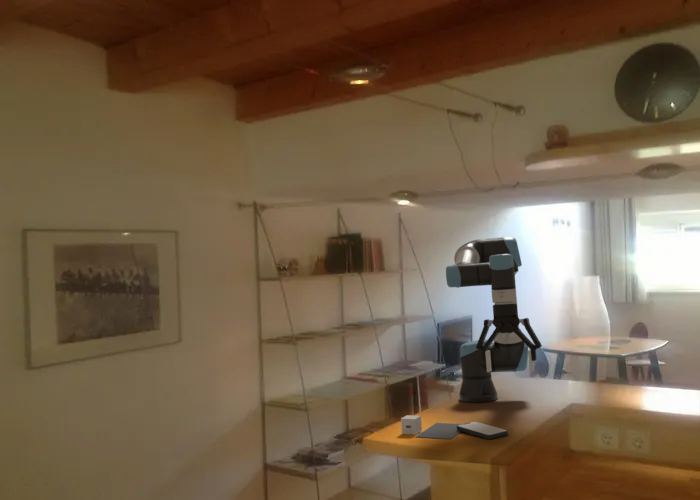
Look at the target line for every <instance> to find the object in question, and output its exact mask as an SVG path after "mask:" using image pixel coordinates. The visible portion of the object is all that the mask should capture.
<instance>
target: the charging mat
mask: <svg viewBox="0 0 700 500" xmlns="http://www.w3.org/2000/svg"><path fill="white" fill-rule="evenodd" d="M461 424H462V423H449V422H447V423H446V422H443V423H442V422H435V423H434V424H432V425H431V426H429V427H428V428H427V429H425V430H422V431H421V432H420V433H418V434H417V435H415V438H419V439H420V438H422V439H423V438H424V439H425V438H426V439H439V440H452V439H454V438H455V437H456V436H458V435H459V434H461V432H462V431H459V430H457V425H461Z"/></svg>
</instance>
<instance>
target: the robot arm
mask: <svg viewBox="0 0 700 500" xmlns="http://www.w3.org/2000/svg"><path fill="white" fill-rule="evenodd" d="M453 259H454V264H451V265H447V266H446V267H445V278H446V285H447V286H448V288H457V289H458V288H465V287H467V288H468V287H478V286H479V287H481V286H491V300H492V303H493V305H492V313H493V319H484V320H483V327H482V330H481V333H480V335H479V339H477V340H473V341H468V342H465V343H463V344H461V345H460V347H459V351H460V352H459V354H460V355H459V357H460V364H461V365H460V366H461V379H462V382H461V386H460V389H459V394H458V396H459V397H458V399H459V401H461V402H463V403H464V402H465V403H487V402H493V401H496V400H497V399H499V398H498V391H497V389H496V386H495V384H494V382H493V379H492V373H505V372H506V373H510V372H511V373H513V372H514V373H516V372H523V371H524V372H525V370H526V369H527V368H528V367H529V368H528V369H529V373H533V372H535V365H534V362H535V361H536V360H537V349H540V348H541V347H542V346H543V345H542V343H541V342H540V340H539V337H538V336H537V335H536V332H535V331H534V329H533V328H532V326H531V323H530V319H529V318H528V317H525V318H520V317H519V313H518V300H517V299H518V298H517V287H516V274H518V272H519V267H521V266H522V260H521V255H520V251H519V246H518V241H517V239H516V238H515V237H513V236H511V237H509V236H505V237H504V236H501V237H493V238H492V237H491V238H490V237H489V238H484V239H483V238H482V239H480V238H479V239H474V240H470V241H468V242H466V243H464V244H462V245H461V246H460V247H459V248H458V249H456V251H455V252H454V258H453ZM520 324H521V325H522V326H524V329H525V330H526V332H527V334H528V335H529V337H530V339H531V340H530V339H529V338H528V337H527V335H525V334H524V332H522V330H521V328H520ZM492 325H493V326H494V330H493V331H492V333H491V335H490V336H489V337H488V339H487V338H486V337H487V335H488V332H489V329H490V327H491V326H492ZM527 366H528V367H527Z"/></svg>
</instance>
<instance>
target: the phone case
mask: <svg viewBox="0 0 700 500" xmlns="http://www.w3.org/2000/svg"><path fill="white" fill-rule="evenodd" d="M460 424H461V425H457V430H459V431H462V432H463V433H466V434H470V435H472V436H475V437H480V438H483V439H486V440H493V439H498V438H502V437H506V436H508V435H509V430H508V429H504V428H500V427H498V426H497V427H496V426H493V425H489V424H486V423H481V422H479V421H470V422H466V423H460Z"/></svg>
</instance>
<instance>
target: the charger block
mask: <svg viewBox="0 0 700 500" xmlns="http://www.w3.org/2000/svg"><path fill="white" fill-rule="evenodd" d="M400 423H401V425H400V427H401V434H402V435H411V434H412V436H413V435H415V436H417V435H419V434H420V433H422V432H423V430H422V429H423V427H422V416H421V415H409V414H407V415H405V416H403V417H401V418H400Z"/></svg>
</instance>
